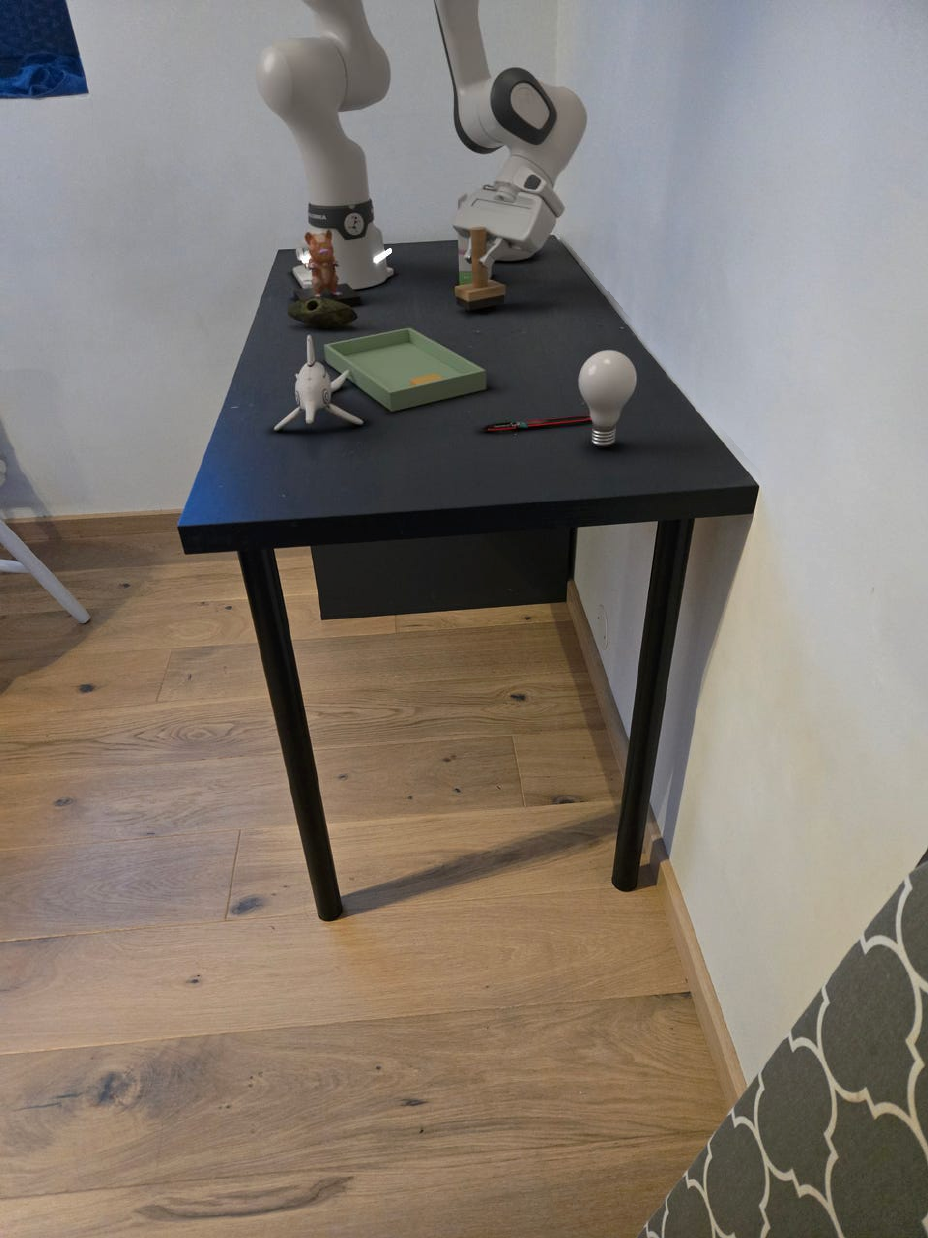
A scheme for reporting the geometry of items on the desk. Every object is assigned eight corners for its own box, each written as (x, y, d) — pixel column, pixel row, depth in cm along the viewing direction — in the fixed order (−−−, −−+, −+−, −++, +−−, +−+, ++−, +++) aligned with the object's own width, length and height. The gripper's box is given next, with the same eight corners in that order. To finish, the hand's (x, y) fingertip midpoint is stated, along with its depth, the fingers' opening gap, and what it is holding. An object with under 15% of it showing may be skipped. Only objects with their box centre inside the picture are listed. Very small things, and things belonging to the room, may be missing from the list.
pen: (595, 422, 100) (596, 417, 100) (483, 434, 98) (483, 429, 98) (591, 416, 102) (591, 411, 101) (480, 427, 100) (480, 422, 100)
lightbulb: (570, 436, 97) (574, 344, 91) (623, 433, 98) (630, 340, 91) (581, 460, 92) (586, 363, 86) (636, 456, 92) (645, 359, 86)
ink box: (485, 287, 152) (483, 199, 144) (458, 287, 153) (455, 199, 145) (493, 275, 159) (491, 191, 151) (468, 275, 160) (465, 191, 151)
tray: (325, 361, 122) (323, 344, 121) (411, 344, 127) (409, 327, 126) (391, 412, 106) (389, 392, 104) (486, 388, 111) (486, 370, 109)
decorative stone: (292, 337, 132) (287, 305, 129) (289, 324, 138) (284, 293, 135) (359, 330, 134) (356, 298, 131) (354, 317, 140) (350, 286, 137)
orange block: (409, 387, 111) (409, 379, 110) (435, 381, 112) (435, 373, 111) (423, 396, 108) (422, 388, 107) (449, 390, 109) (449, 381, 109)
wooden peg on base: (455, 304, 141) (451, 228, 133) (491, 297, 143) (489, 222, 136) (469, 310, 137) (466, 233, 130) (505, 303, 140) (504, 227, 133)
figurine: (304, 312, 143) (294, 238, 136) (294, 298, 151) (283, 227, 144) (360, 304, 146) (352, 232, 139) (347, 291, 154) (339, 221, 147)
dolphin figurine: (263, 446, 93) (247, 346, 88) (287, 411, 116) (276, 330, 111) (361, 439, 93) (350, 339, 89) (366, 406, 116) (357, 325, 112)
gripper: (470, 170, 139) (427, 242, 140) (552, 182, 126) (505, 261, 127) (491, 196, 144) (449, 265, 145) (572, 210, 131) (526, 286, 132)
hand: (476, 263), depth 136 cm, fingers closed on wooden peg on base, 2 cm apart
